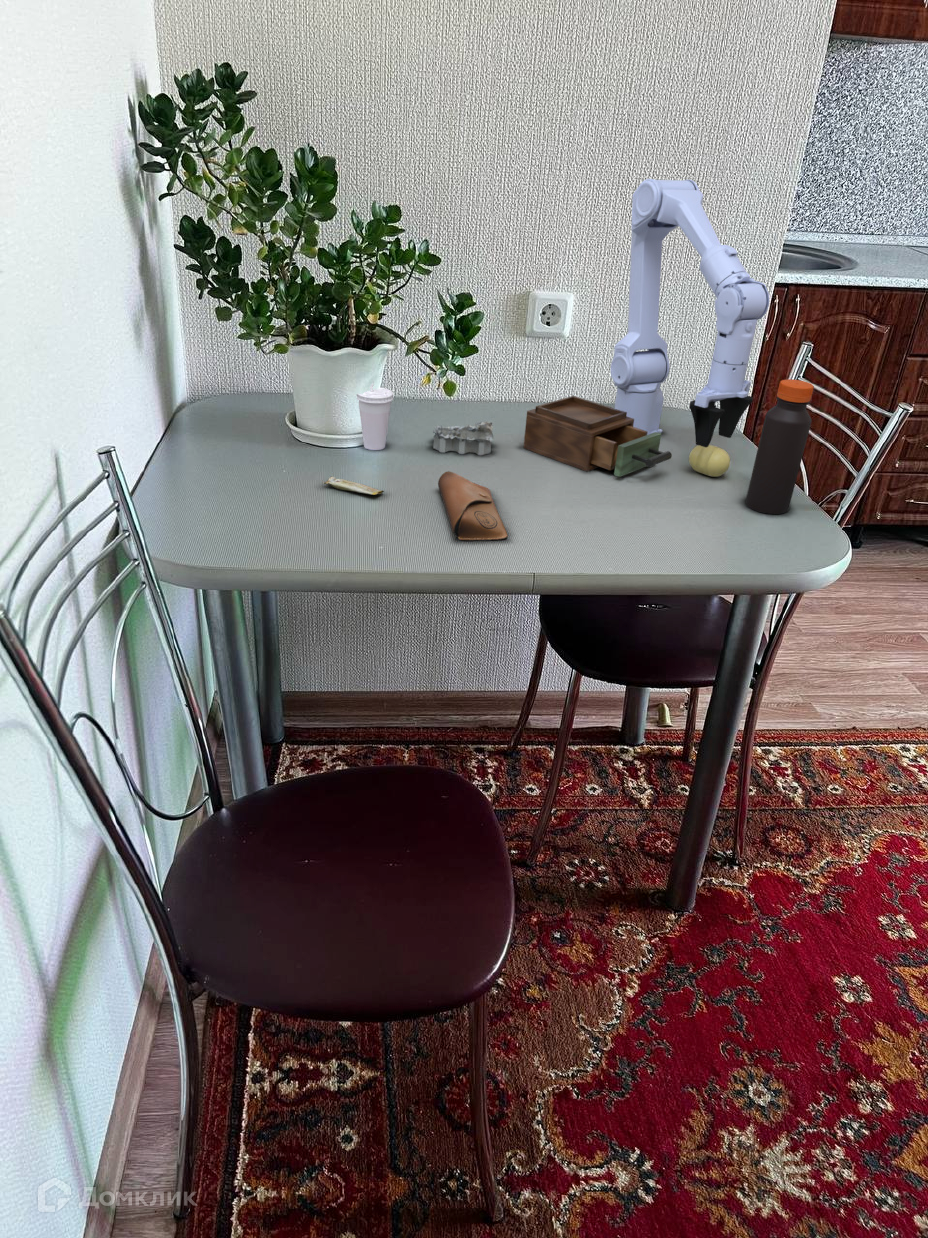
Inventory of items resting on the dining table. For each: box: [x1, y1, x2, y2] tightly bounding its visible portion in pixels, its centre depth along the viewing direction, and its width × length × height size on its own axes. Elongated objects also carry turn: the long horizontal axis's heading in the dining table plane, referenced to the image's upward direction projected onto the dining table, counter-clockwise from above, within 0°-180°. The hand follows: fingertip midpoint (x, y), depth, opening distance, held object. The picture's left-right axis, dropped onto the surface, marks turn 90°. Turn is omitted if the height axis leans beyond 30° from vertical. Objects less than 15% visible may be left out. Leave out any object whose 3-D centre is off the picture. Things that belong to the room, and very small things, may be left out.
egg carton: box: [432, 421, 494, 456], centre depth 160 cm, size 11×8×4 cm
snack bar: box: [322, 476, 385, 496], centre depth 140 cm, size 10×2×3 cm
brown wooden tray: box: [534, 395, 627, 430], centre depth 158 cm, size 11×12×1 cm
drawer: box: [591, 425, 673, 478], centre depth 155 cm, size 18×11×5 cm, turn 46°
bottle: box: [745, 378, 815, 515], centre depth 140 cm, size 7×7×20 cm
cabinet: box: [523, 402, 634, 472], centre depth 160 cm, size 14×12×7 cm
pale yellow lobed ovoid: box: [688, 444, 731, 478], centre depth 155 cm, size 5×7×5 cm
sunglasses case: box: [437, 470, 509, 542], centre depth 135 cm, size 18×7×7 cm, turn 9°
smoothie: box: [356, 382, 394, 451], centre depth 155 cm, size 6×6×14 cm
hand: (713, 440), depth 153 cm, fingers open, 7 cm apart
